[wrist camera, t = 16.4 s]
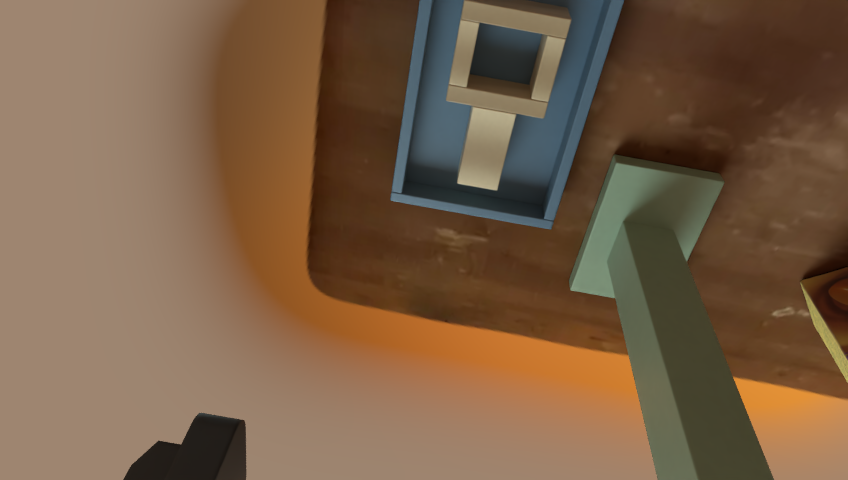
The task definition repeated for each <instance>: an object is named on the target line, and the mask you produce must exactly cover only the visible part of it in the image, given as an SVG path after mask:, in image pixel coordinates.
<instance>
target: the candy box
mask: <svg viewBox="0 0 848 480" xmlns="http://www.w3.org/2000/svg"><path fill="white" fill-rule="evenodd" d="M800 283H801V286H802V289H803V292H804V295H805V298H806V302H807V305H808V308H809V311H810V314H811V317H812V321H813V323H814V326H815V328H816V329H817V331H818V333H819V334H820V336H821V338H822V339H823V341H824V343H825V344H826V346H827V348H828V350H829V351H830V353H831V355H832V356H833V358H834V360H835V362H836V363H837V365H838V367H839V368H840V370H841V372H842V374H843V375H844V377H845V379H846V381H847V382H848V267H846V268H843V269H840V270H836V271H833V272H830V273H826V274H823V275H819V276H815V277H812V278H808V279H804V280H801V281H800Z"/></svg>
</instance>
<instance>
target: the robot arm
mask: <svg viewBox="0 0 848 480" xmlns="http://www.w3.org/2000/svg"><path fill="white" fill-rule="evenodd" d="M124 480H246V427H245V421H244V420H239V419H234V418H227V417H222V416H216V415H211V414H205V413H199V414H198V415H197V416H196V417H195V419H194V420H193V422H192V424H191V426H190V428H189V430H188V432H187V434H186V436H185V438H184V440H183V442H182V444H181V445H180V444H174V443H168V442H163V441H158V442H157V443H156V444H154V445H153V446H152V447H151V448H150V449H149V450H148V451H147V452H146V453H144V454H143V455H142V456H141V457H140V458H139V459H138V460H137V461H136V462H134V463H133V464H132V465H131V467H130V469H129V470H128V472H127V474H126V476H125V478H124Z"/></svg>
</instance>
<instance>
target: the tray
mask: <svg viewBox="0 0 848 480" xmlns="http://www.w3.org/2000/svg"><path fill="white" fill-rule="evenodd" d="M528 1H534V2H539V3H544V4H550V5H555V6H561V7H566V8H568V11H569V14H570V17H571V24H570V27H569V31H568V35H567V37H566V41H565V45H564V49H563V52H562V56H561V59H560V63H559V67H558V70H557V74H556V77H555V81H554V85H553V88H552V92H551V95H550V99H549V101H548V106H547V110H546V113H545V117H544V118H537V117H532V116H526V115H521V114H516V118H515V122H514V126H513V130H512V134H511V138H510V142H509V146H508V150H507V154H506V158H505V162H504V166H503V170H502V173H501V177H500V181H499V185H498V189H497V190H491V189H485V188H480V187H474V186H469V185H463V184H458V183H457V179H458V169H459V162H460V158H461V153H462V148H463V143H464V138H465V134H466V129H467V124H468V119H469V114H470V110H471V105H466V104H460V103H455V102H449V101H446V96H447V89H448V83H449V78H450V72H451V67H452V62H453V56H454V51H455V45H456V40H457V34H458V29H459V23H460V18H461V13H462V7H463V2H464V0H420V2H419V9H418V16H417V23H416V29H415V36H414V43H413V50H412V56H411V63H410V70H409V77H408V84H407V90H406V97H405V104H404V111H403V117H402V124H401V131H400V138H399V144H398V151H397V158H396V165H395V171H394V178H393V185H392V192H391V198H390V200H391V201H395V202H401V203H407V204H412V205H418V206H423V207H429V208H434V209H440V210H445V211H451V212H457V213H462V214H468V215H473V216H479V217H484V218H490V219H495V220H501V221H507V222H512V223H518V224H523V225H529V226H534V227H540V228H546V229H551V228H552V225H553V222H554V219H555V216H556V213H557V210H558V207H559V203H560V200H561V197H562V194H563V191H564V188H565V185H566V181H567V178H568V175H569V172H570V169H571V166H572V163H573V159H574V156H575V153H576V150H577V147H578V144H579V141H580V138H581V134H582V131H583V128H584V125H585V122H586V119H587V116H588V112H589V109H590V106H591V103H592V100H593V97H594V94H595V91H596V87H597V84H598V81H599V78H600V75H601V72H602V69H603V65H604V62H605V59H606V56H607V53H608V50H609V47H610V43H611V40H612V37H613V34H614V31H615V28H616V25H617V22H618V18H619V15H620V12H621V9H622V6H623V3H624V0H528ZM541 37H542V34H540V33H534V32H529V31H523V30H518V29H512V28H507V27H501V26H496V25H491V24H485V23H480V24H479V29H478V34H477V39H476V44H475V49H474V54H473V59H472V64H471V69H470V74H472V75H478V76H483V77H489V78H494V79H500V80H505V81H511V82H516V83H521V84H527V85H530V80H531V76H532V72H533V68H534V64H535V60H536V56H537V52H538V48H539V45H540V41H541Z"/></svg>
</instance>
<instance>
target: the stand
mask: <svg viewBox="0 0 848 480" xmlns="http://www.w3.org/2000/svg"><path fill="white" fill-rule="evenodd" d="M723 185H724V180H723V178H722V177H721V175H720V174H719V173H713V172H708V171H702V170H697V169H691V168H686V167H680V166H675V165H669V164H664V163H658V162H653V161H647V160H642V159H636V158H631V157H625V156H620V155H614V156H613V158H612V161H611V164H610V167H609V169H608V172H607V175H606V178H605V181H604V183H603V186H602V189H601V192H600V195H599V198H598V200H597V203H596V206H595V209H594V212H593V214H592V217H591V220H590V223H589V226H588V228H587V231H586V234H585V237H584V240H583V242H582V245H581V248H580V251H579V254H578V256H577V259H576V262H575V265H574V268H573V271H572V273H571V276H570V279H569V284H570V290H573V291H578V292H584V293H590V294H595V295H601V296H606V297H612V298H615V299H616V303H617V307H618V312H619V316H620V320H621V325H622V329H623V333H624V337H625V342H626V346H627V350H628V354H629V359H630V363H631V367H632V371H633V376H634V380H635V384H636V389H637V393H638V397H639V401H640V405H641V410H642V414H643V419H644V423H645V427H646V431H647V436H648V440H649V444H650V448H651V452H652V457H653V461H654V465H655V470H656V474H657V478H658V480H774V479H773V476H772V474H771V471H770V469H769V466H768V464H767V462H766V459H765V456H764V454H763V451H762V449H761V446H760V444H759V441H758V439H757V436H756V434H755V431H754V429H753V426H752V424H751V421H750V419H749V416H748V414H747V411H746V409H745V406H744V404H743V402H742V399H741V396H740V394H739V391H738V389H737V386H736V384H735V381H734V379H733V376H732V374H731V371H730V369H729V366H728V364H727V361H726V359H725V356H724V354H723V351H722V349H721V347H720V344H719V342H718V339H717V337H716V334H715V332H714V329H713V327H712V324H711V322H710V319H709V317H708V314H707V312H706V309H705V307H704V304H703V302H702V299H701V297H700V294H699V292H698V289H697V287H696V284H695V282H694V279H693V277H692V274H691V272H690V269H689V267H688V264H687V260H688V258H689V256H690V254H691V252H692V250H693V248H694V246H695V244H696V241H697V239H698V237H699V235H700V233H701V231H702V229H703V227H704V225H705V222H706V220H707V218H708V216H709V214H710V212H711V210H712V208H713V206H714V204H715V201H716V199H717V197H718V195H719V193H720V191H721V189H722V187H723Z"/></svg>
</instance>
